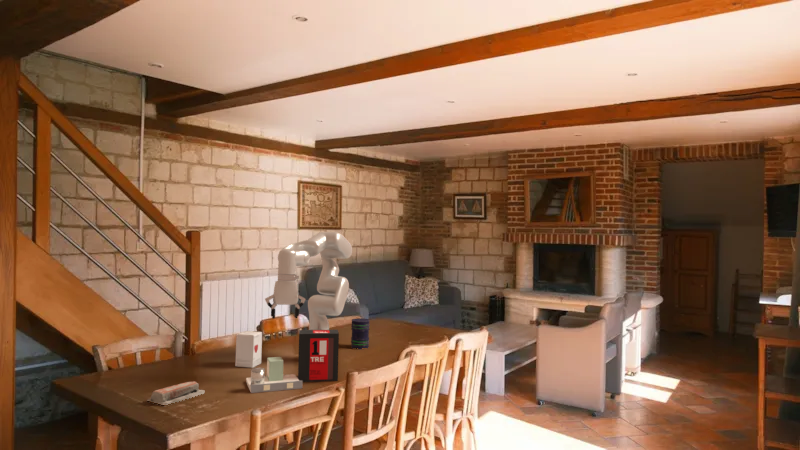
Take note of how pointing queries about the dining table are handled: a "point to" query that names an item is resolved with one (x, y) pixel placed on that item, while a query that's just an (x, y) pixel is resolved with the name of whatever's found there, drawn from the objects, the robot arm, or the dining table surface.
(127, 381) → the dining table surface
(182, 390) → the notched trowel
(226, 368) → the dining table surface
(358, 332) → the storage jar
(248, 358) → the supplement box
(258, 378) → the clear glass cup
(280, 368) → the tea box
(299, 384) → the board
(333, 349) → the cleaning product box
